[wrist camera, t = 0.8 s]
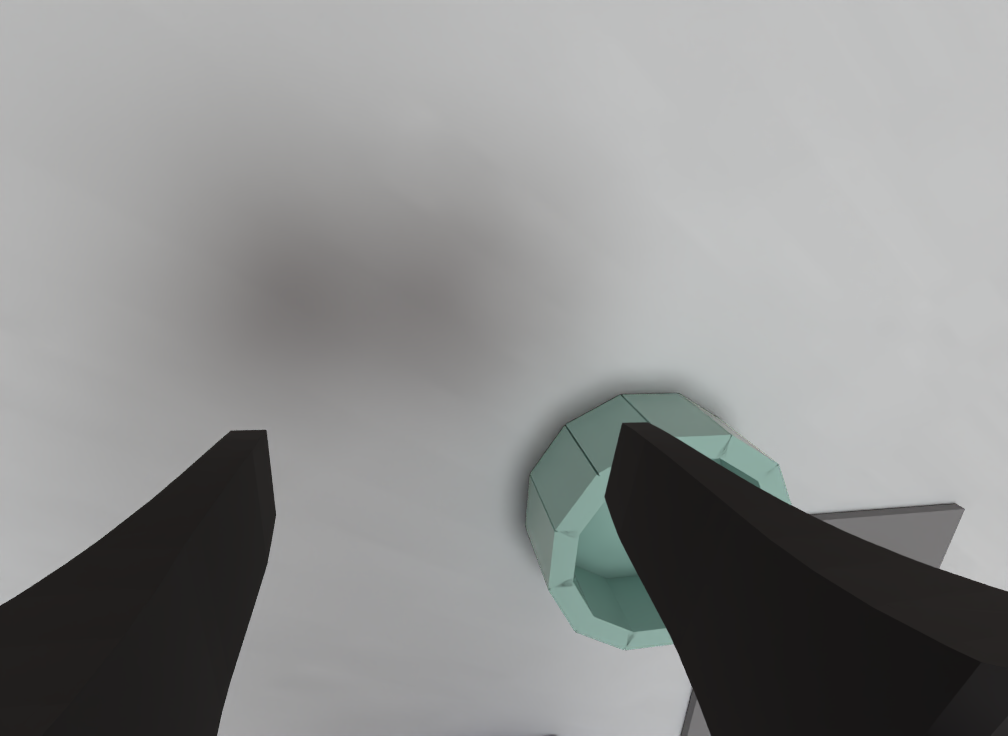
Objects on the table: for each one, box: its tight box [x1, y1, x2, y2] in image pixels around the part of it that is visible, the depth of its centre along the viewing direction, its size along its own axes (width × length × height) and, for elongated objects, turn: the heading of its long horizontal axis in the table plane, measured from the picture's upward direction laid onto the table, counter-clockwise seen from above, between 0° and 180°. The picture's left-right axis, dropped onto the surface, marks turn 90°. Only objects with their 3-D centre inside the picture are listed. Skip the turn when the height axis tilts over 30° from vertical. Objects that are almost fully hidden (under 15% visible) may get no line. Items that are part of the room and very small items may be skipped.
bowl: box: [525, 393, 791, 650], centre depth 23 cm, size 10×10×4 cm
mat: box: [681, 504, 965, 736], centre depth 31 cm, size 16×14×1 cm
